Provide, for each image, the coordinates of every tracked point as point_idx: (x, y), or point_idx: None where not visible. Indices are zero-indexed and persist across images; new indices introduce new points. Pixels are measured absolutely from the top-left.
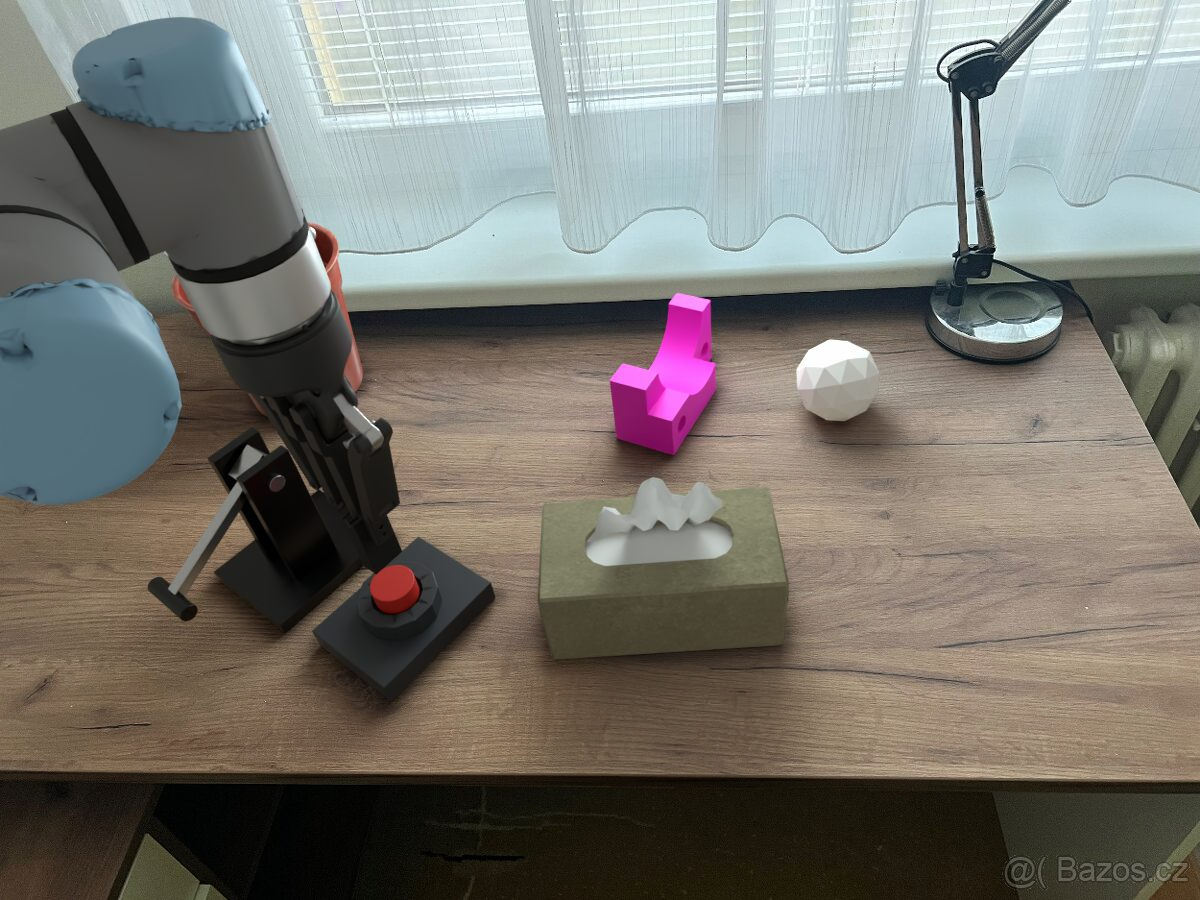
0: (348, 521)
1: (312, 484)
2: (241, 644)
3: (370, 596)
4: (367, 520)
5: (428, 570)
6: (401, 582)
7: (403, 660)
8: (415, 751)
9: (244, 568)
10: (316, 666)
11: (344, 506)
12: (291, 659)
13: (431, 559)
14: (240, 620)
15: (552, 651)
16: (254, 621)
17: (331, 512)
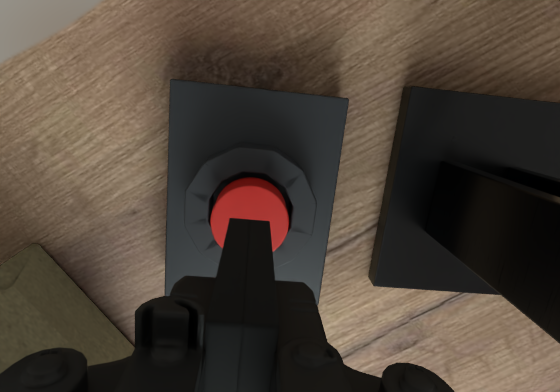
0: (162, 318)
1: (409, 388)
2: (453, 37)
3: (285, 188)
4: (30, 369)
5: None
6: None
7: (179, 131)
8: (92, 37)
9: (539, 136)
10: (320, 68)
11: (269, 349)
12: (363, 58)
13: None
14: (484, 68)
15: (22, 251)
16: (462, 78)
17: (477, 275)
